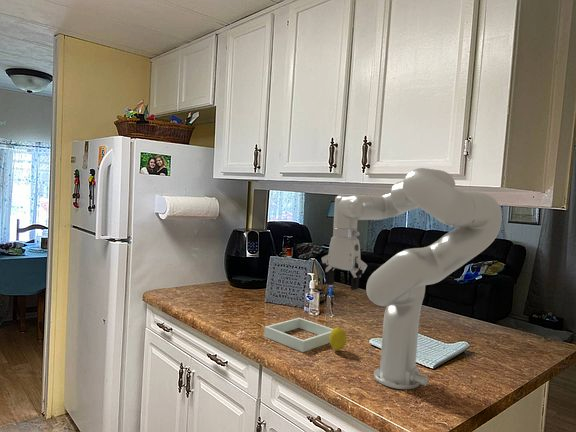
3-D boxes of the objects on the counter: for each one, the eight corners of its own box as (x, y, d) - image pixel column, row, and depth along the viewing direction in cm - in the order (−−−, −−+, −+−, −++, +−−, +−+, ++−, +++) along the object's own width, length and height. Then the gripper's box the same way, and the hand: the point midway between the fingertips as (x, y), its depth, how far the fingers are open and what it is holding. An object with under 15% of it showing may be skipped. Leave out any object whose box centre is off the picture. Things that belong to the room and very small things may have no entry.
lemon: (332, 354, 136) (333, 329, 135) (326, 348, 141) (327, 324, 141) (348, 353, 137) (350, 329, 137) (341, 347, 143) (343, 323, 142)
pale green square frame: (336, 340, 149) (337, 330, 149) (302, 352, 136) (303, 341, 136) (298, 326, 162) (299, 317, 161) (264, 336, 149) (264, 326, 148)
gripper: (374, 236, 134) (371, 290, 135) (330, 231, 146) (328, 280, 146) (360, 237, 128) (357, 293, 129) (316, 231, 140) (313, 283, 141)
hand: (341, 286), depth 138 cm, fingers open, 9 cm apart
